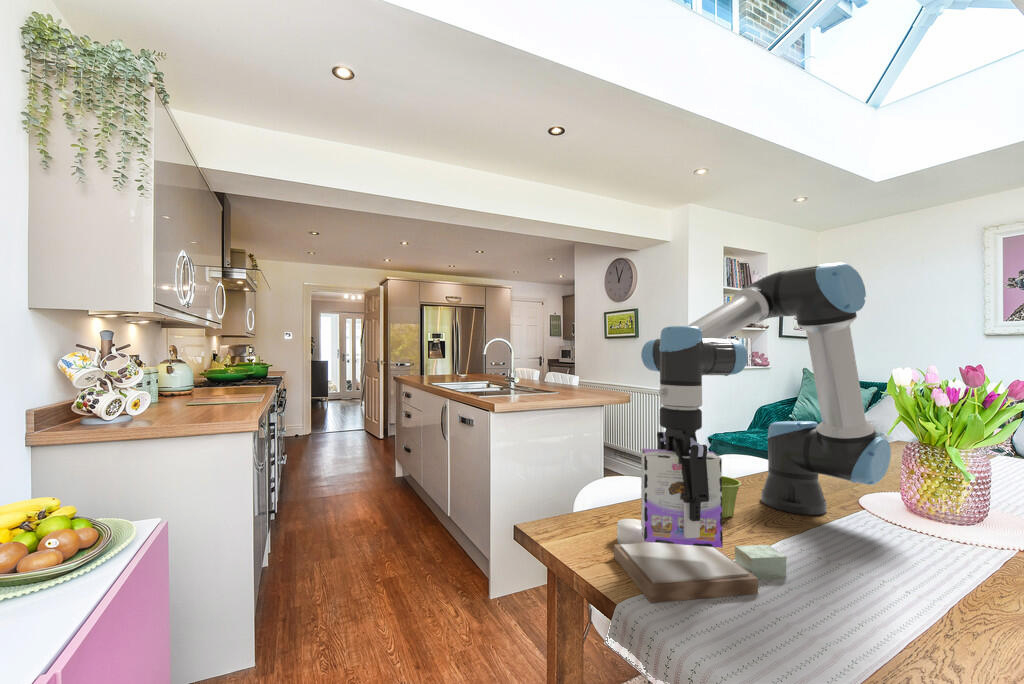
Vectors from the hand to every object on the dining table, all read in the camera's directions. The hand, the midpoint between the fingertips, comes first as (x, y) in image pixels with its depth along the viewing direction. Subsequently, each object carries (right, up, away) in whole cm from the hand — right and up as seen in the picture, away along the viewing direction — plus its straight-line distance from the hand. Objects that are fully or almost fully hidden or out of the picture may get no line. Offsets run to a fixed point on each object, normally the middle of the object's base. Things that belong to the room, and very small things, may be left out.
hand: (680, 528), depth 82 cm
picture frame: (0, -9, 0) cm, 9 cm away
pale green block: (+16, -9, +1) cm, 18 cm away
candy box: (0, -2, 0) cm, 2 cm away
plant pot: (+23, -10, +31) cm, 39 cm away
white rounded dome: (-5, -9, +13) cm, 17 cm away
